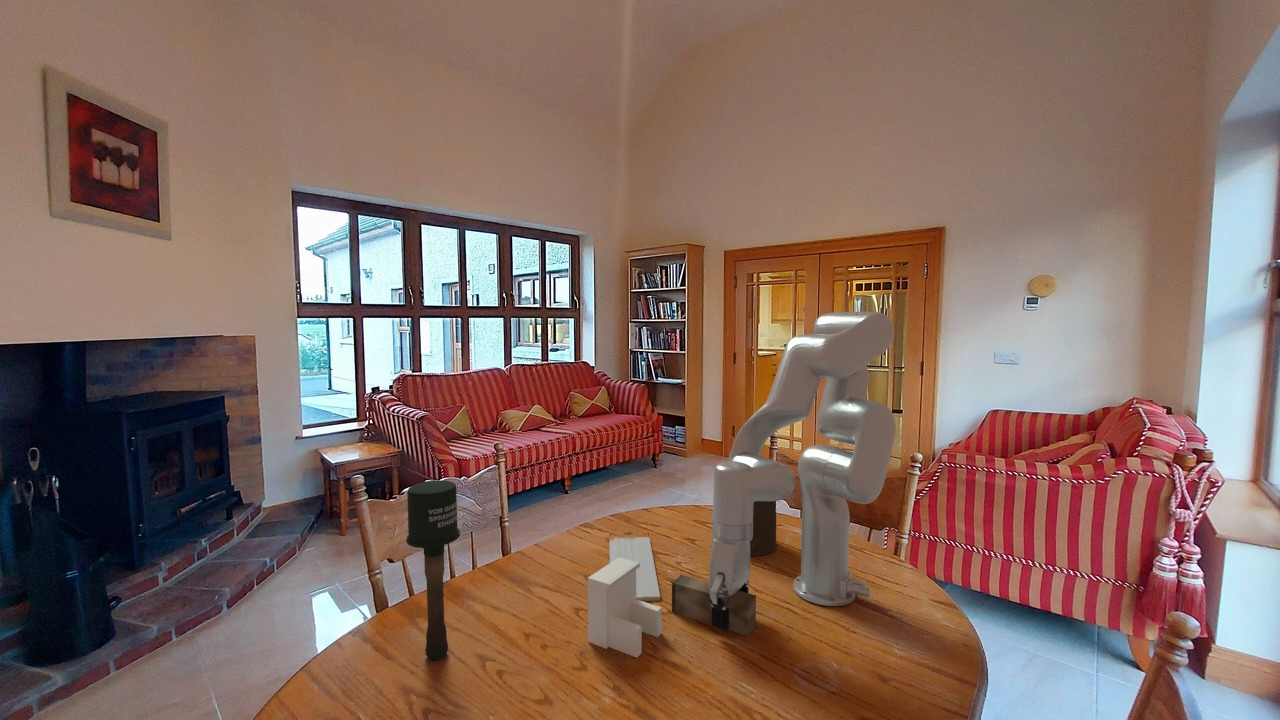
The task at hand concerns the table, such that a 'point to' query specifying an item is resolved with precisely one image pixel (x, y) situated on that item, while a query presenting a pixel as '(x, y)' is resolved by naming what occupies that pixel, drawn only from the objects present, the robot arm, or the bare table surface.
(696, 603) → the rail
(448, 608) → the table surface
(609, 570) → the white forked bracket
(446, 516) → the potato masher grenade
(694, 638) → the table surface
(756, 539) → the wooden container
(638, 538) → the baseboard molding
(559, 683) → the table surface
